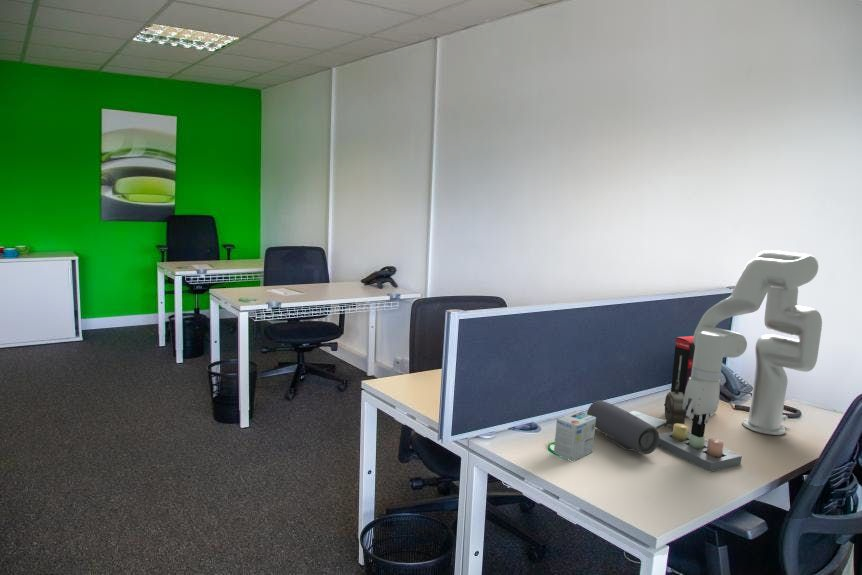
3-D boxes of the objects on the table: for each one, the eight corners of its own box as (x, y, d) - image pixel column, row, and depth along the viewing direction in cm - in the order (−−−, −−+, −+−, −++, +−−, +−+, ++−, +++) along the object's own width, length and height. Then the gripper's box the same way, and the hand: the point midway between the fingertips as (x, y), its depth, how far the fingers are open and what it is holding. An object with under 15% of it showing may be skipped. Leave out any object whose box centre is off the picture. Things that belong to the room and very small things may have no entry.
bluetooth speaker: (659, 456, 172) (663, 423, 170) (633, 460, 168) (637, 426, 167) (607, 427, 193) (610, 397, 191) (583, 429, 189) (586, 399, 187)
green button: (694, 444, 178) (696, 431, 177) (706, 449, 175) (708, 436, 174) (685, 446, 176) (687, 433, 176) (697, 452, 173) (698, 438, 172)
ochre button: (678, 435, 183) (680, 422, 183) (689, 440, 180) (691, 427, 179) (669, 436, 181) (670, 424, 181) (680, 442, 178) (681, 429, 177)
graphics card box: (681, 419, 204) (692, 341, 200) (665, 412, 210) (675, 336, 206) (716, 413, 212) (726, 338, 208) (699, 406, 218) (709, 333, 214)
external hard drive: (655, 431, 193) (621, 419, 202) (668, 426, 198) (633, 414, 207) (656, 426, 193) (621, 414, 202) (668, 421, 198) (634, 409, 207)
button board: (682, 437, 187) (683, 429, 187) (740, 464, 170) (741, 456, 170) (652, 443, 181) (653, 435, 181) (710, 471, 164) (711, 463, 164)
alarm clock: (684, 435, 189) (690, 386, 187) (666, 433, 190) (672, 384, 188) (677, 423, 200) (683, 376, 198) (660, 420, 201) (665, 374, 199)
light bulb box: (573, 444, 177) (576, 409, 175) (593, 452, 172) (597, 416, 170) (552, 454, 169) (555, 417, 168) (573, 462, 165) (576, 425, 163)
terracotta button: (712, 450, 173) (714, 437, 172) (725, 456, 169) (726, 443, 169) (703, 452, 171) (705, 439, 170) (715, 458, 167) (717, 445, 167)
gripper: (711, 369, 179) (703, 427, 181) (676, 372, 172) (668, 433, 174) (734, 376, 172) (725, 437, 175) (699, 380, 165) (690, 443, 168)
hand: (697, 435), depth 175 cm, fingers closed
